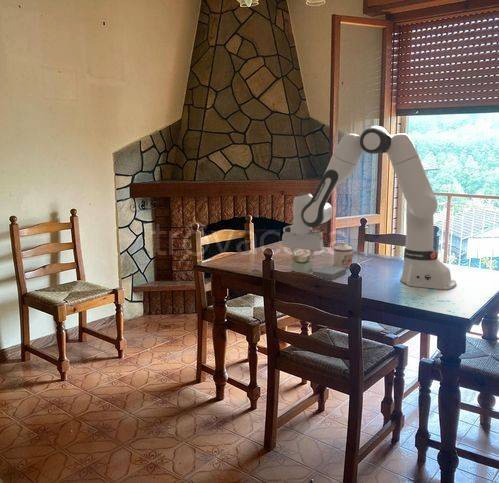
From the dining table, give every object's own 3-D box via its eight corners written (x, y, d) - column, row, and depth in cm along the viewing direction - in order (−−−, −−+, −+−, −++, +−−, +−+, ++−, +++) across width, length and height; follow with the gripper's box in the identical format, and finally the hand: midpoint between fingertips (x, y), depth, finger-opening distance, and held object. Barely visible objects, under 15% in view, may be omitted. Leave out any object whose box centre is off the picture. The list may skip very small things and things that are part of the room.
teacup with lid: (343, 269, 244) (344, 245, 242) (329, 266, 251) (329, 242, 249) (360, 265, 252) (361, 241, 249) (345, 262, 259) (346, 239, 256)
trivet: (346, 273, 237) (346, 268, 237) (332, 279, 227) (332, 274, 226) (326, 270, 243) (326, 265, 242) (312, 276, 233) (312, 271, 232)
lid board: (313, 258, 244) (313, 254, 243) (302, 262, 236) (302, 258, 235) (301, 256, 247) (301, 252, 247) (290, 260, 240) (290, 256, 239)
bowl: (312, 270, 243) (312, 261, 243) (304, 273, 238) (304, 264, 237) (299, 268, 248) (299, 259, 247) (291, 271, 242) (291, 262, 241)
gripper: (325, 229, 235) (325, 259, 238) (287, 225, 247) (287, 254, 250) (319, 232, 230) (318, 262, 233) (280, 227, 242) (280, 256, 245)
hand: (302, 258), depth 241 cm, fingers closed on lid board, 6 cm apart
